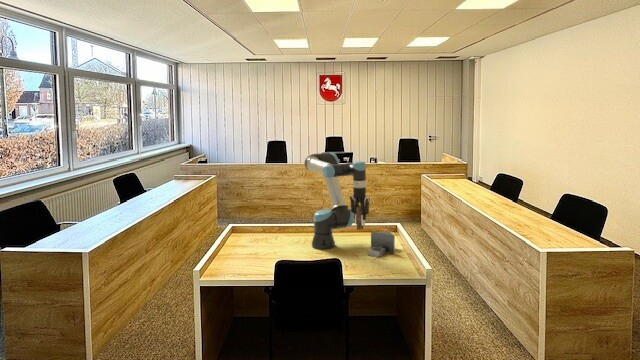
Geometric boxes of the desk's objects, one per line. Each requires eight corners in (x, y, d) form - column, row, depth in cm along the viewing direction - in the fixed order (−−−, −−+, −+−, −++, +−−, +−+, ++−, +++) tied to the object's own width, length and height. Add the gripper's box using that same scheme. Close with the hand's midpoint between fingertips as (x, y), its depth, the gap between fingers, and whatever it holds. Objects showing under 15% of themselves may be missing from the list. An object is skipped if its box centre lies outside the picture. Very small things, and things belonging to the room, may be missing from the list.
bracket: (362, 253, 329) (362, 235, 327) (372, 249, 338) (372, 230, 336) (384, 258, 319) (384, 239, 317) (394, 253, 329) (394, 234, 326)
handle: (355, 229, 325) (355, 206, 323) (359, 227, 328) (358, 205, 326) (360, 229, 322) (360, 207, 320) (364, 228, 325) (364, 206, 323)
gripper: (344, 186, 323) (345, 224, 327) (367, 189, 313) (368, 227, 317) (351, 184, 329) (352, 221, 333) (374, 187, 319) (375, 225, 322)
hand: (360, 224), depth 325 cm, fingers closed on handle, 4 cm apart
